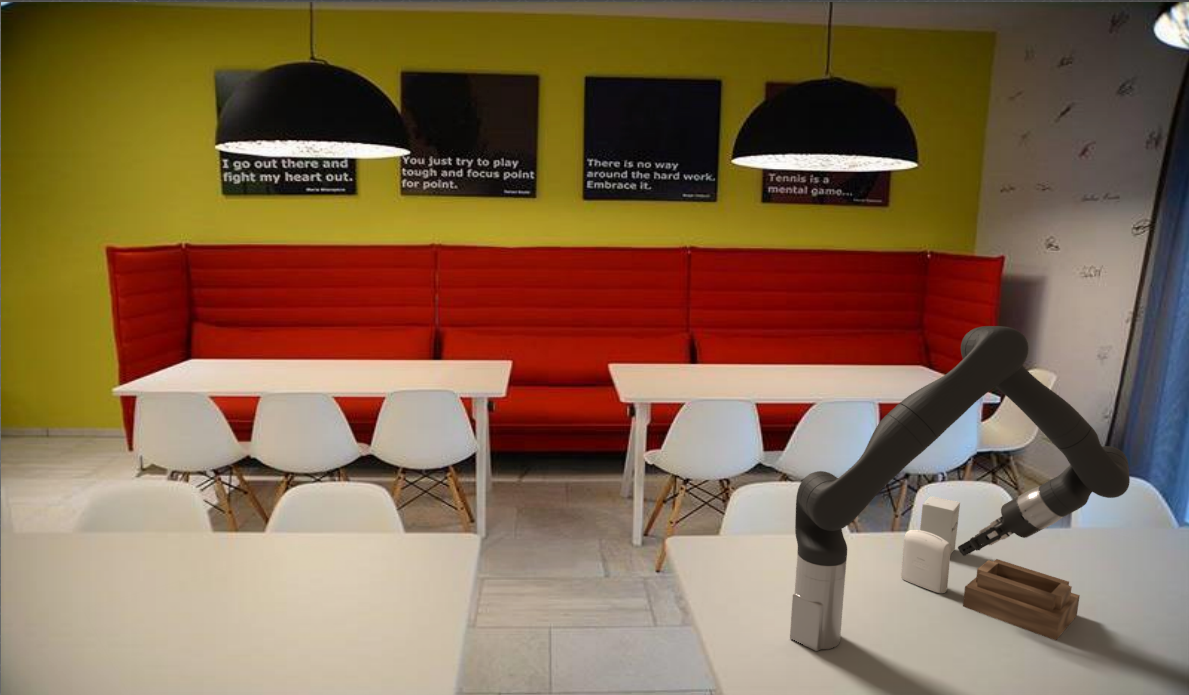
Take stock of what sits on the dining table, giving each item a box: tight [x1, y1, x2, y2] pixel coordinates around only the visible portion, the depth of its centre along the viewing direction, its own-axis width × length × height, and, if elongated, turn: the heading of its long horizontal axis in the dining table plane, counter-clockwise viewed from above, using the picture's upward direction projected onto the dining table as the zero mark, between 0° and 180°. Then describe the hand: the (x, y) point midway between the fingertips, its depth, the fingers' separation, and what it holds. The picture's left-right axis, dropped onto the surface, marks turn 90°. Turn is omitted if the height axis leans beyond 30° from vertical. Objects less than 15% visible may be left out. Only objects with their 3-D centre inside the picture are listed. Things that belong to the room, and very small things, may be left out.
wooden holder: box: [962, 558, 1081, 641], centre depth 167 cm, size 14×18×8 cm
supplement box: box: [919, 495, 961, 556], centre depth 195 cm, size 7×7×13 cm
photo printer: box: [900, 529, 952, 594], centre depth 178 cm, size 10×4×12 cm, turn 39°
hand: (969, 545), depth 170 cm, fingers open, 8 cm apart
